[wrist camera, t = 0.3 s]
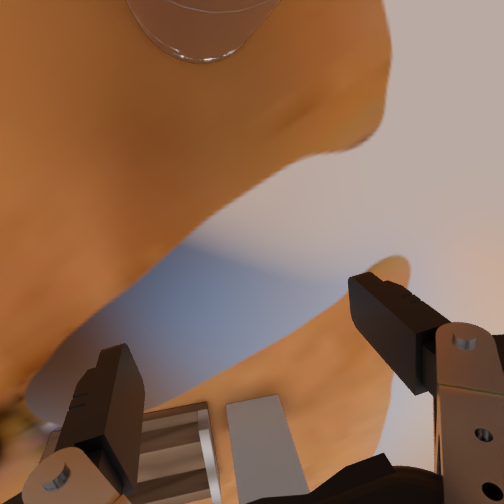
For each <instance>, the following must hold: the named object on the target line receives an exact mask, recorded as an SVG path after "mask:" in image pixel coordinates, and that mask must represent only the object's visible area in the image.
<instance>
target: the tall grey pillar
mask: <svg viewBox="0 0 504 504" xmlns="http://www.w3.org/2000/svg"><path fill="white" fill-rule="evenodd" d="M226 410H227V418H228V425H229V432H230V440H231V447H232V455H233V462H234V469H235V477H236V484H237V492H238V499H239V504H246V503H249V502H252V501H254V500H257V499H260V498H264V497H277V496H290V495H303V494H308V493H310V491H309V488H308V485H307V482H306V479H305V476H304V473H303V470H302V467H301V464H300V461H299V457H298V454H297V451H296V448H295V445H294V442H293V439H292V436H291V433H290V430H289V427H288V424H287V420H286V417H285V414H284V411H283V408H282V405H281V402H280V399H279V396H278V394H276V395H271V396H266V397H261V398H256V399H251V400H246V401H241V402H236V403H231V404H226Z"/></svg>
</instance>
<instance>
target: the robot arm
mask: <svg viewBox="0 0 504 504" xmlns="http://www.w3.org/2000/svg"><path fill="white" fill-rule="evenodd" d="M280 1H281V0H126V2H127V3H128V5H129V7H130V9H131V11H132V12H133V14H134V16H135V18H136V19H137V21H138V23H139V25H140V26H141V28H142V30H143V31H144V32H145V33H146V34H147V36H148V37H149V38H150V39H151V41H152V42H153V43H155V44H156V45H157V46H158V47H159V48H161V49H162V50H163V51H164V52H166V53H168V54H170V55H171V56H173V57H175V58H177V59H180V60H183V61H187V62H190V63H203V64H205V63H210V62H216V61H219V60H221V59H223V58H226V57H228V56H230V55H231V54H232V53H234V52H235V51H236V50H238V49H239V48H240V47H241V46H242V45H243V44H244V42H245V41H246V40H247V39H248V38H249V37H250V36H251V35H252V34H253V32H254V31H255V30H256V29H257V28H258V27H259V26H260V24H261V23H262V22H263V21H264V20H265V19H266V17H267V16H268V15H269V14H270V13H271V12H272V10H273V9H274V8H275V7H276V6H277V5H278V3H279V2H280ZM348 289H349V300H350V311H351V317H352V320H353V322H354V325H355V326H356V328H357V329H358V331H359V332H360V333H361V334H362V335H363V336H364V337H365V339H366V340H367V341H368V342H369V343H370V344H371V346H372V347H373V348H374V349H375V350H376V351H377V352H378V354H379V355H380V356H381V357H382V358H383V359H384V360H385V362H386V363H387V364H388V365H389V366H390V367H391V369H392V370H393V371H394V372H395V373H396V374H397V375H398V377H399V378H400V379H401V380H402V381H403V382H404V383H405V384H406V386H407V387H408V388H409V389H410V390H411V391H412V393H413V394H414V395H419V394H421V393H424V392H427V391H429V392H430V393H431V394H432V395H433V421H434V473H433V472H431V471H428V470H424V469H420V468H415V467H409V466H392V465H391V463H390V462H389V460H388V459H387V457H386V455H385V454H384V453H381V454H379V455H376V456H373V457H371V458H368V459H365V460H362V461H360V462H357V463H354V464H352V465H349V466H346V467H344V468H343V469H342V470H340V471H339V472H338V473H336V474H335V475H334V476H332V477H331V478H330V479H328V480H327V481H326V482H324V483H323V484H322V485H320V486H319V487H318V488H316V489H315V490H314V491H312V492H310V493H308V494H303V495H290V496H277V497H264V498H260V499H257V500H254V501H252V502H249V503H246V504H504V334H503V335H491V334H490V333H489V332H488V331H486V330H485V329H483V328H481V327H479V326H476V325H473V324H469V323H463V322H450V321H449V320H448V319H446V318H445V317H444V316H442V315H441V314H440V313H438V312H437V311H436V310H434V309H433V308H431V307H430V306H429V305H427V304H426V303H425V302H423V301H421V300H420V299H419V298H418V297H416V296H415V295H412V293H411V292H410V291H409V290H407V289H406V288H404V287H403V286H402V285H399V284H396V283H393V282H391V281H388V280H387V281H384V282H383V281H382V280H380V279H379V278H378V277H377V276H375V275H374V274H373V273H371V272H366V273H362V274H359V275H356V276H352V277H350V278H349V279H348ZM144 399H145V390H144V384H143V380H142V377H141V375H140V372H139V370H138V368H137V365H136V363H135V361H134V359H133V356H132V354H131V352H130V349H129V347H128V346H127V344H125V343H123V344H120V345H116V346H113V347H110V348H107V349H103V350H101V352H100V355H99V358H98V362H97V365H96V368H93V369H89V370H87V372H86V373H85V374H84V376H83V377H82V378H81V379H80V381H79V382H78V383H77V386H76V389H75V392H74V395H73V400H72V401H71V403H70V406H69V411H68V412H67V415H66V418H65V421H64V424H63V427H62V430H61V433H60V435H59V438H58V441H57V444H56V447H55V450H54V453H53V454H51V455H50V456H48V457H47V458H45V459H44V460H43V461H42V462H41V463H40V464H38V466H37V467H36V468H35V469H34V470H33V471H32V472H31V474H30V475H29V477H28V478H27V480H26V482H25V484H24V487H23V490H22V492H21V493H19V494H17V495H16V496H14V497H13V498H11V499H9V500H8V501H6V502H4V503H3V504H132V503H131V502H130V501H129V500H128V499H127V497H126V496H127V495H130V494H133V493H136V490H137V479H138V467H139V456H140V445H141V433H142V422H143V411H144Z"/></svg>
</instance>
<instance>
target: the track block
mask: <svg viewBox="0 0 504 504" xmlns="http://www.w3.org/2000/svg"><path fill="white" fill-rule="evenodd" d="M60 433H61V430H60V431H55V432H52V433H51V436H50V438H49V441H48V443H47V445H46V448H45V450H44V453H43V455H42V457H41V460H40V462H39V464H40V463H41V462H42V461H43V460H44V459H45V458H47V457H48V456H50V455H51V454H53V453H54V450H55V447H56V444H57V441H58V438H59V435H60ZM126 497H127V499H128V500H129V501H130V502H131V503H132V504H185V503H189V502H193V501H198V500H202V499H206V498H210V497H212V502H213V504H222V499H221V488H220V477H219V470H218V464H217V458H216V452H215V447H214V441H213V435H212V429H211V424H210V418H209V412H208V406H207V402H203V403H198V404H192V405H187V406H182V407H177V408H172V409H167V410H162V411H157V412H152V413H147V414H143V422H142V433H141V445H140V456H139V467H138V479H137V490H136V493H133V494H130V495H127V496H126Z"/></svg>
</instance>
